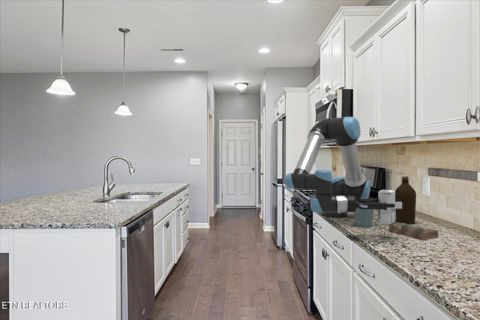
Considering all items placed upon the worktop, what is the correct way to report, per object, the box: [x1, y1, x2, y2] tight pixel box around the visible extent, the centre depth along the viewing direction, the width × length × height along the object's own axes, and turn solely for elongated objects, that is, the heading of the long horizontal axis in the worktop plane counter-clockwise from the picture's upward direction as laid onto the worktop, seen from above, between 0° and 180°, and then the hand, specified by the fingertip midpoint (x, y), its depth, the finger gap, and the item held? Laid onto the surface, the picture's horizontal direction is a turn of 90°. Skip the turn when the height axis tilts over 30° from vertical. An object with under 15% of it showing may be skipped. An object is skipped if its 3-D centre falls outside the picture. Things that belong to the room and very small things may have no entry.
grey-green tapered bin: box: [354, 208, 375, 228], centre depth 175 cm, size 10×10×12 cm
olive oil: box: [394, 175, 417, 225], centre depth 180 cm, size 11×11×25 cm
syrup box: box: [377, 189, 396, 225], centre depth 149 cm, size 6×6×14 cm
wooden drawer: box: [388, 221, 439, 241], centre depth 155 cm, size 18×10×5 cm, turn 25°
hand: (397, 203), depth 149 cm, fingers closed on syrup box, 7 cm apart
